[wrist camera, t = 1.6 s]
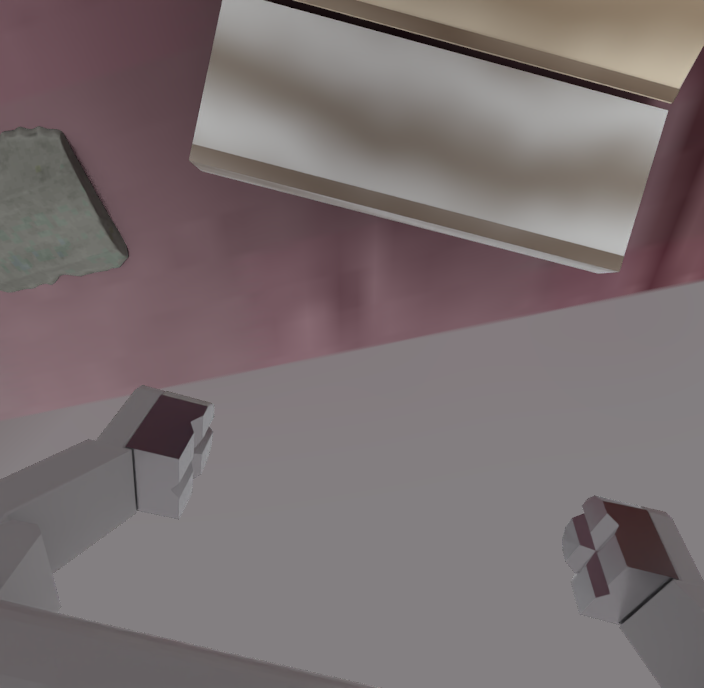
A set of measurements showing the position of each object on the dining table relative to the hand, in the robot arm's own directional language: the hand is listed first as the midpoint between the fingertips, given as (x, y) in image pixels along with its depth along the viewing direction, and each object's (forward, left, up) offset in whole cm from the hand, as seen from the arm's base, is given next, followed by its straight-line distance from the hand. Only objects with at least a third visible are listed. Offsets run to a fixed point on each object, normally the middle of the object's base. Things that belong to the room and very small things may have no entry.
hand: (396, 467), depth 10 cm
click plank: (-2, 0, -20) cm, 20 cm away
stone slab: (+12, -29, -23) cm, 39 cm away
